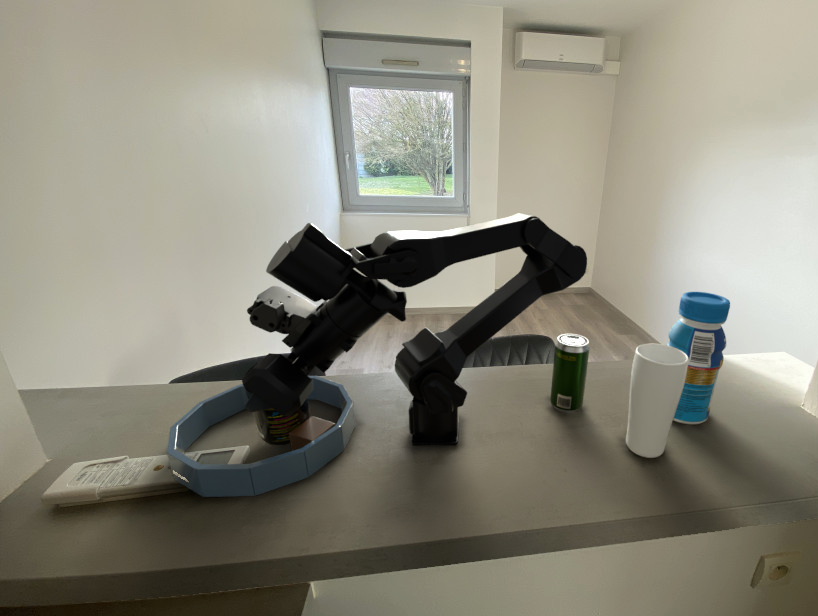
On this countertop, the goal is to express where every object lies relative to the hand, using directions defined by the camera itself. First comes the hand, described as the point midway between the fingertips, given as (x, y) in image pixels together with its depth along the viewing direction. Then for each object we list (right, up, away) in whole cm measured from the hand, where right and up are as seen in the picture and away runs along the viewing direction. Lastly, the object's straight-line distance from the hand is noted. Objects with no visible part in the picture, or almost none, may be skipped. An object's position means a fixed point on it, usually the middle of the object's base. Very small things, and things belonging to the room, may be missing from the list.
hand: (264, 391), depth 53 cm
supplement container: (0, -6, +5) cm, 8 cm away
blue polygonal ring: (-2, -8, +5) cm, 9 cm away
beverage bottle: (+61, -7, +15) cm, 63 cm away
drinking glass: (+51, -9, +6) cm, 52 cm away
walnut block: (+6, -9, +3) cm, 11 cm away
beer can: (+41, -6, +16) cm, 45 cm away
